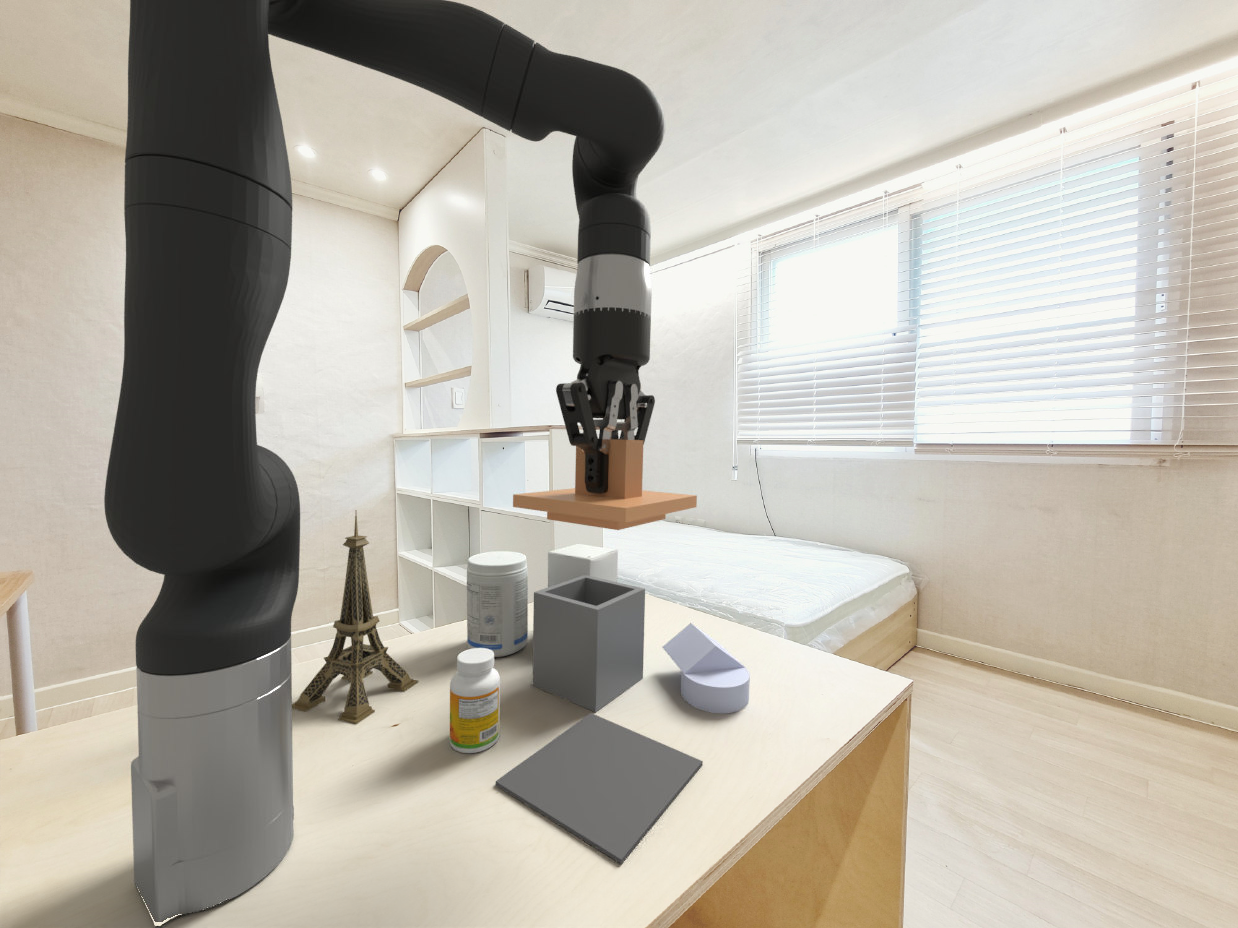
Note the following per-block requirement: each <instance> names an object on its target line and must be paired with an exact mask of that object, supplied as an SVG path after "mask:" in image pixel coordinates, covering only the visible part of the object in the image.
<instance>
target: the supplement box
mask: <svg viewBox="0 0 1238 928" xmlns="http://www.w3.org/2000/svg"><path fill="white" fill-rule="evenodd" d="M618 553H619V550H618V549H613V548H608V547H601V546H594V545H589V544H582V543H576V544H573V545H572V544H571V545H569V546H565V547H561V548H557V549H553V550H550V551H548V552H547V588H548V587H551V586H554V585H557V584H560V583H563V582H565V581H568V580H571V579H574V578H577V577H580V576H583V575H587V576H592V577H596V578H600V579H605V580H609V581H614V582H618V560H619V559H618V557H619V556H618V555H619V554H618Z"/></svg>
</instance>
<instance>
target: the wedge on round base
mask: <svg viewBox="0 0 1238 928" xmlns="http://www.w3.org/2000/svg"><path fill="white" fill-rule="evenodd" d="M661 647H662V649H663V650H664V651H665V652H666V653H667V655H668V656H669V657H670V659H671V660H672V661H673V663H674V664H675V665H676V666H677V667H678V668H679V670H680V675H681V676H680V695H681V694H682V695H681V697H682V696H683V697H682V699H683V698H684V699H685V700H684V699H683V700H684V701H685V702H686V701H687V702H688V703H687V702H686V703H687V704H689V705H690V704H691V705H690V706H692V707H694V708H695V707H696V708H695V709H698V710H701V711H704V712H707V713H713V714H729V713H731V714H732V713H736V712H737V713H738V711H739V712H740V711H741V710H743V709H745V708H746V707H747V706H748V705H749V703H750V702H749V701H750V681H751V680H750V678H751V676H750V675H751V674H750V672H749V670H748V668H746V666H745V665H744V664H742V663H741V662H740V661H739V660H738V659H737V658H736V657H735V656H733V654H731V653H730V651H728V650H727V649H726V648H725V647H723V646H722V644H720V643H719V642H718V641H717V640H716V639H714V638H712V637H711V636H710V635H709V634H707V633H705V632H704V631H703V630H701V629H700V628H699V627H697V626H696V625H694V624H693V623H692V622H690V623H689V624H688V625H686V626H685V627H684V628H683V629H682V630H680V631H679V632H678V633H677V634H676V635H675V636H673V637H672V638H671V639H670V640H668V641H667V642H666V643H665V644H664V645H663V646H661Z"/></svg>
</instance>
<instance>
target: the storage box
mask: <svg viewBox="0 0 1238 928" xmlns="http://www.w3.org/2000/svg"><path fill="white" fill-rule="evenodd" d="M645 609H646V588H643V587H640V586H639V587H638V586H635V585H631V584H627V583H623V582H618V581H617V582H614V581H609V580H605V579H600V578H596V577H592V576H587V575H583V576H580V577H577V578H574V579H571V580H568V581H565V582H563V583H560V584H557V585H554V586H551V587H548V586H547V587H544V588H543V589H540V590H537V591H533V616H532V617H533V629H532V635H533V636H532V686H533V687H536V688H538V689H540V690H542V691H545V692H547V693H549V694H552V695H555V696H556V697H559V698H560V699H563V700H566V701H568V702H571V703H572V704H575V705H577V706H579V707H582V708H584V709H586V710H589V711H592V712H594V713H597V712H599V711H601V709H603V708H604V707H605V706H607V705H608V704H609V703H611V702H612V701H613V700H615V699H617V698H618V697H619V696H621V695H622V694H623V693H625V692H626V691H627V690H628V689H630V688H631V687H633V686H635V685H636V684H637V683H638V682H640V681H641V680H642V679H644V653H645V652H644V651H645V649H644V648H645V647H644V646H645V644H644V643H645Z"/></svg>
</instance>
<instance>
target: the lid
mask: <svg viewBox="0 0 1238 928" xmlns="http://www.w3.org/2000/svg"><path fill="white" fill-rule="evenodd" d="M606 455H609V470H608V491H607V492H606V493H601V494H600V493H590V492H588V491H587V490H586V485H585V453H584V452H583V451H582V449H581V448H579V447H578V446H575V472H574V473H575V477H574V488H573V487H571V488H566V489H565V488H564V489H556V490H555V489H553V490H545V491H535V492H525V493H517V494H516V493H514V494H512V507H513V508H516V509H524V510H525V509H526V510H530V511H531V510H532V511H539V512H546V520H550V521H554V522H562V523H568V524H569V523H570V524H573V525H574V524H576V525H582V526H588V527H595V528H600V529H607V530H608V529H609V530H613V531H614V530H616V531H620V530H621V531H622V530H625V529H629V528H633V527H638V526H641V525H646V524H649V523H654V522H658V521H663V520H666V515H667V514H672V513H676V512H681V511H686V510H690V509H694V508H697V506H698V505H697V502H698V501H697V500H698V499H697V498H698V496H697V494H696V495H694V494H685V493H684V494H683V493H675V492H674V493H673V492H664V491H663V492H662V491H655V490H653V491H651V490H643V473H644V472H643V471H644V445H643V440H616V439H610V445H609V451H608V452H607V453H606Z"/></svg>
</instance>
